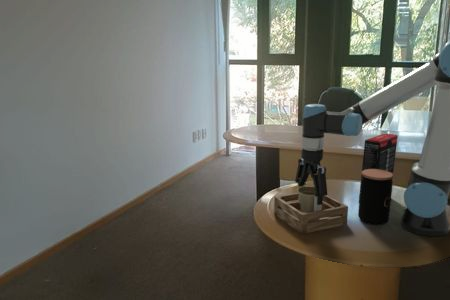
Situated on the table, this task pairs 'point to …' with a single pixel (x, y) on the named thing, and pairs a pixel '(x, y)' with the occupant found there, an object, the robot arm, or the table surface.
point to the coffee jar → (375, 196)
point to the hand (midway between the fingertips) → (309, 207)
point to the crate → (310, 214)
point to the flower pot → (307, 198)
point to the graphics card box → (380, 153)
